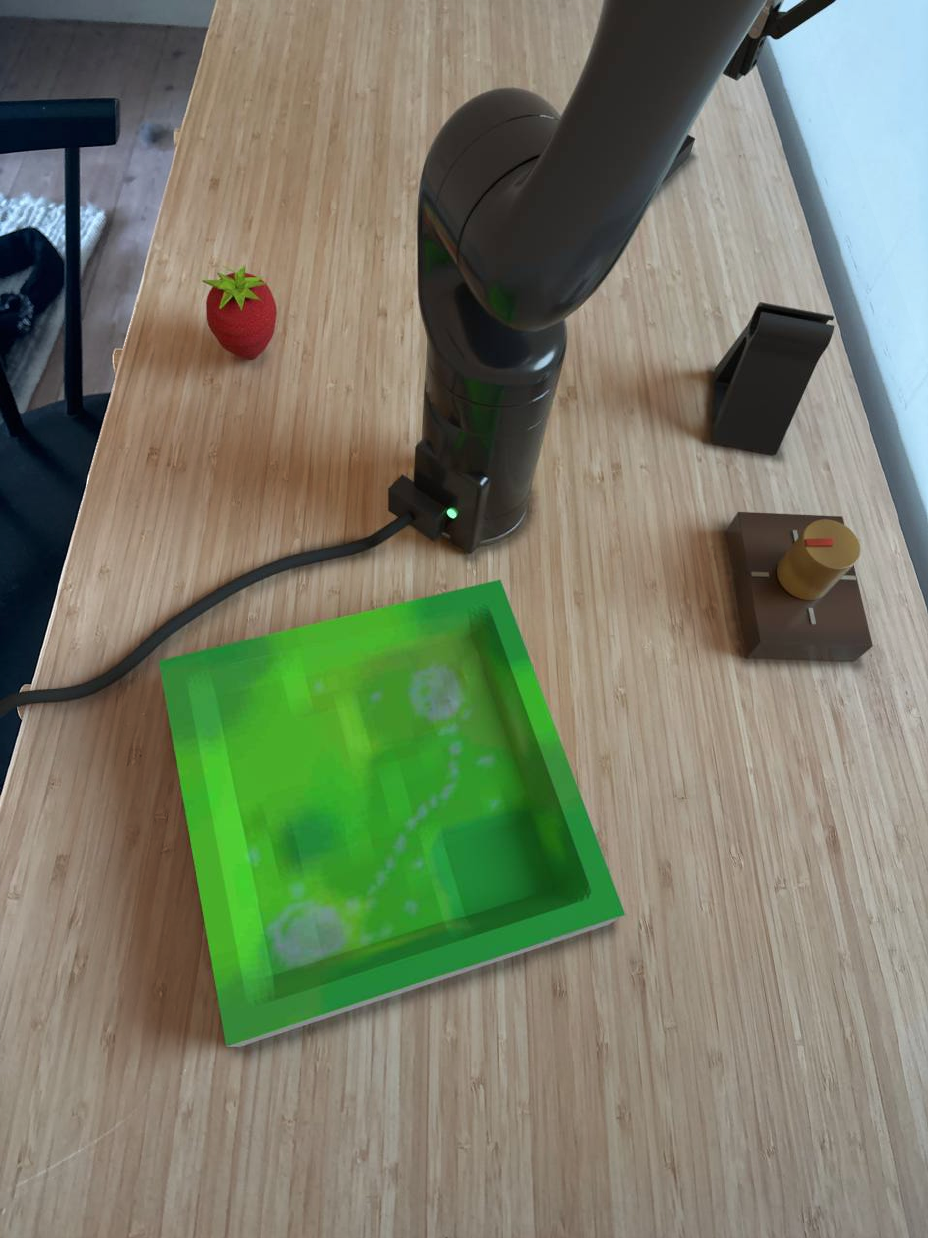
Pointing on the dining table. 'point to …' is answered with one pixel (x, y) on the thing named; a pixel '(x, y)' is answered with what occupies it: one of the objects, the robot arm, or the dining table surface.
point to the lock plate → (790, 596)
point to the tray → (377, 808)
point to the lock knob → (818, 559)
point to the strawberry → (241, 313)
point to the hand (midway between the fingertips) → (734, 73)
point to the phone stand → (766, 376)
